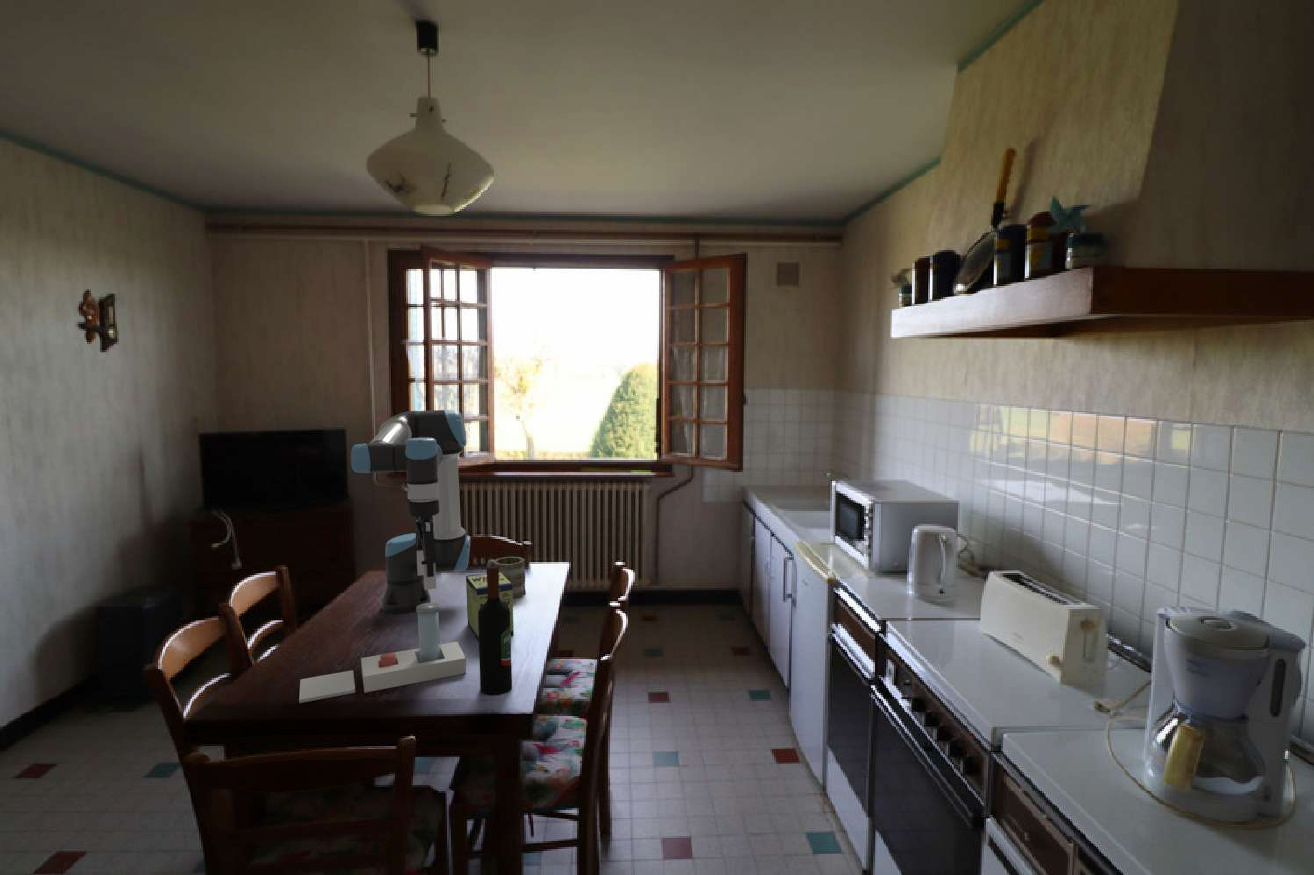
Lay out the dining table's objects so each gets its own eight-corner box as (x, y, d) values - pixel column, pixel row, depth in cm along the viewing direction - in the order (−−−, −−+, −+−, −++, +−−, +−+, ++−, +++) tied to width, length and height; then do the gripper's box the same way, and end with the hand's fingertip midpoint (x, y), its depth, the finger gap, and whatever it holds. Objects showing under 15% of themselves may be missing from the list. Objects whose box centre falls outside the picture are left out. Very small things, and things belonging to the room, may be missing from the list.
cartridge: (417, 668, 180) (414, 604, 179) (439, 664, 183) (437, 601, 181) (420, 676, 175) (417, 611, 174) (443, 672, 178) (440, 607, 176)
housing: (361, 673, 177) (361, 658, 177) (457, 655, 188) (457, 641, 187) (364, 692, 167) (363, 676, 166) (466, 673, 177) (465, 657, 177)
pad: (300, 682, 172) (300, 679, 172) (353, 673, 177) (353, 670, 177) (299, 703, 162) (299, 699, 161) (355, 692, 167) (355, 689, 167)
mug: (532, 593, 241) (531, 559, 239) (510, 601, 232) (509, 566, 230) (499, 585, 249) (498, 553, 248) (477, 594, 240) (476, 560, 239)
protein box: (478, 642, 197) (477, 589, 196) (466, 624, 211) (465, 575, 209) (514, 635, 202) (513, 583, 200) (500, 619, 216) (499, 570, 214)
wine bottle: (483, 682, 172) (479, 563, 169) (513, 680, 172) (510, 562, 170) (477, 696, 164) (473, 572, 161) (510, 694, 165) (506, 571, 162)
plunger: (380, 671, 175) (379, 654, 175) (395, 668, 177) (394, 651, 176) (381, 677, 172) (380, 659, 172) (397, 674, 174) (396, 657, 173)
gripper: (402, 492, 184) (405, 570, 186) (413, 509, 162) (417, 597, 164) (431, 490, 187) (434, 567, 189) (446, 506, 165) (449, 593, 167)
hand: (426, 581), depth 177 cm, fingers open, 13 cm apart
